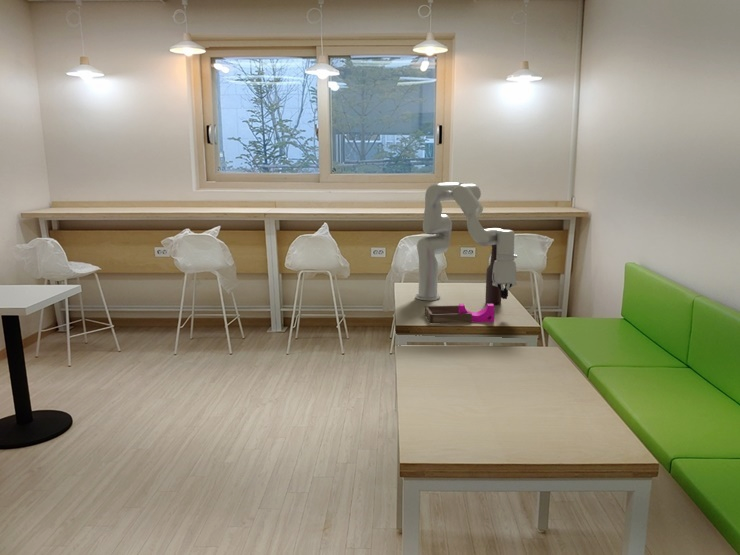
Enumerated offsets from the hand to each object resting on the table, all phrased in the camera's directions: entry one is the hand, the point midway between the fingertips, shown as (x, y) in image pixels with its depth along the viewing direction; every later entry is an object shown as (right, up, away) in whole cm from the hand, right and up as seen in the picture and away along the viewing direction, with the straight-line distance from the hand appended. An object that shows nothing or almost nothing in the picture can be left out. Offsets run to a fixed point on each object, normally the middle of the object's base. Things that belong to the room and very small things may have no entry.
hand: (504, 298), depth 262 cm
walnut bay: (-25, -9, 0) cm, 27 cm away
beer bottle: (+1, -4, +26) cm, 27 cm away
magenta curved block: (-13, -10, -2) cm, 16 cm away
